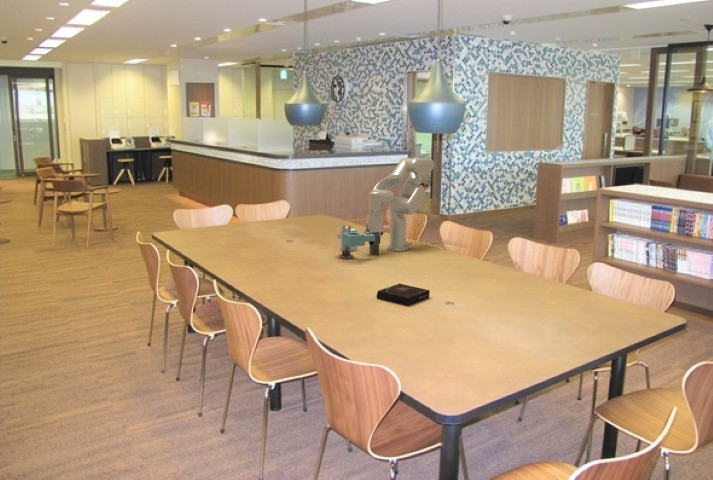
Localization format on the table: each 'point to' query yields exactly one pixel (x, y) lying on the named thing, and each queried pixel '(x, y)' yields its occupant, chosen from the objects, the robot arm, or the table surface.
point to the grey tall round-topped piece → (345, 248)
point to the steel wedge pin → (375, 245)
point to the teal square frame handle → (356, 239)
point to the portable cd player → (403, 294)
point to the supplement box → (351, 247)
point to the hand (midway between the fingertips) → (374, 243)
